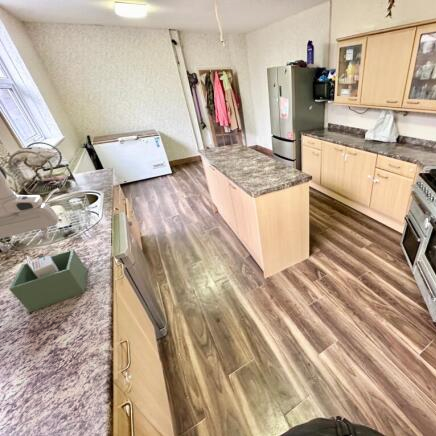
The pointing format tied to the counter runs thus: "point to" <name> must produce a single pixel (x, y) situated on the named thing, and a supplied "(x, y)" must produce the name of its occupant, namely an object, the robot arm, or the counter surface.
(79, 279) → the waste bin
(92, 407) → the counter surface
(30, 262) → the ink box
